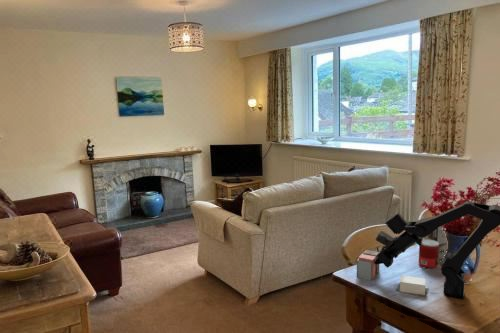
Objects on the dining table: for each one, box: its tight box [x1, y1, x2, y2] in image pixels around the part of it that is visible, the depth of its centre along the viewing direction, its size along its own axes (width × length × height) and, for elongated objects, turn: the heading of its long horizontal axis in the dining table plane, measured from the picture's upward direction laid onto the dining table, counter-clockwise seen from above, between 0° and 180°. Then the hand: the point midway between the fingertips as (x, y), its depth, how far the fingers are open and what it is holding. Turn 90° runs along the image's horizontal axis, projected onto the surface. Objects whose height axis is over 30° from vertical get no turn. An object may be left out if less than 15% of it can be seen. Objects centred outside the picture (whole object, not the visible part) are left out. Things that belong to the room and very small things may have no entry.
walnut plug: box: [362, 249, 380, 275], centre depth 175 cm, size 6×4×9 cm, turn 58°
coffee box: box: [423, 226, 447, 260], centre depth 191 cm, size 9×6×16 cm
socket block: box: [356, 250, 372, 281], centre depth 174 cm, size 6×11×8 cm, turn 148°
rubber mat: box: [395, 282, 430, 299], centre depth 159 cm, size 11×8×1 cm
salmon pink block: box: [358, 253, 376, 280], centre depth 171 cm, size 6×4×9 cm, turn 58°
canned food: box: [418, 239, 439, 270], centre depth 180 cm, size 8×8×11 cm
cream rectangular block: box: [399, 275, 426, 295], centre depth 158 cm, size 9×6×4 cm, turn 68°
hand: (374, 263), depth 169 cm, fingers closed, pressing on salmon pink block
